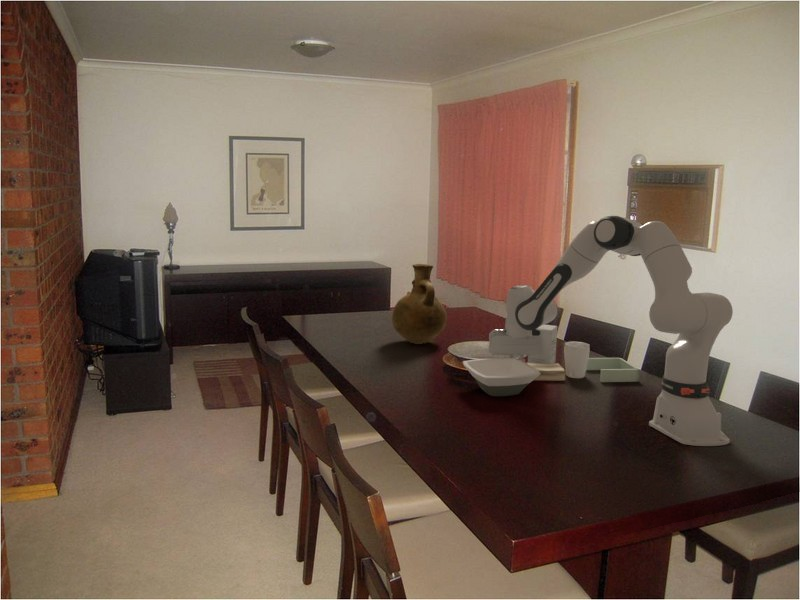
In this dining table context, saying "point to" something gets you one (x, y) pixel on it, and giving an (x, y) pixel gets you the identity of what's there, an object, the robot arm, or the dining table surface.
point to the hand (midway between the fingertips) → (515, 366)
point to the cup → (576, 358)
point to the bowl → (501, 375)
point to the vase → (420, 309)
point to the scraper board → (549, 371)
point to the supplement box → (546, 346)
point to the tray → (614, 369)
